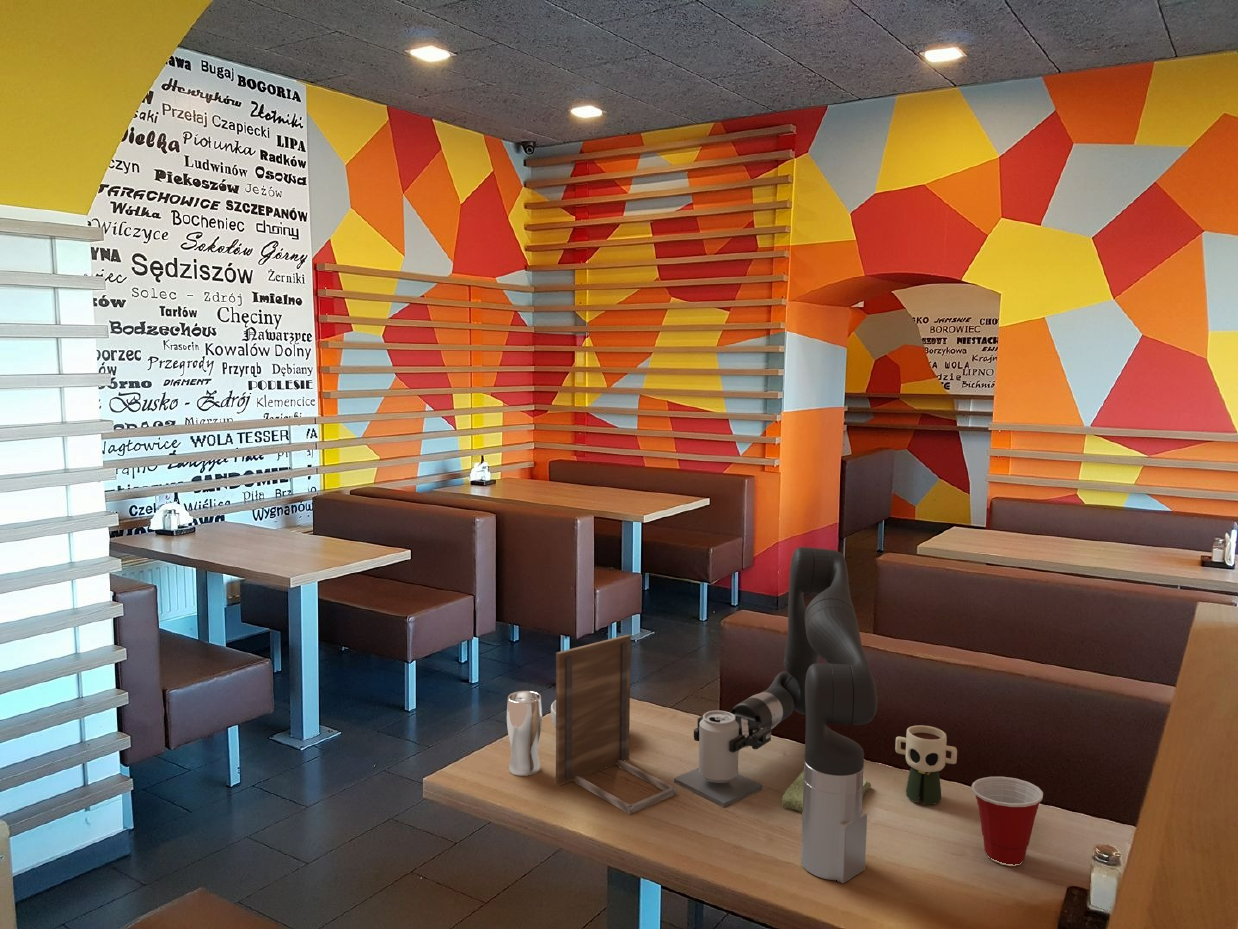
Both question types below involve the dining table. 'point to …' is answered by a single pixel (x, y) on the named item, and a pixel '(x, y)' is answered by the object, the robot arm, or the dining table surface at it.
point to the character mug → (925, 761)
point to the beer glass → (524, 731)
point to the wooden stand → (597, 718)
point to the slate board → (718, 787)
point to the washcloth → (795, 793)
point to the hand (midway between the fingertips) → (713, 741)
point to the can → (717, 746)
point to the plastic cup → (1006, 816)
